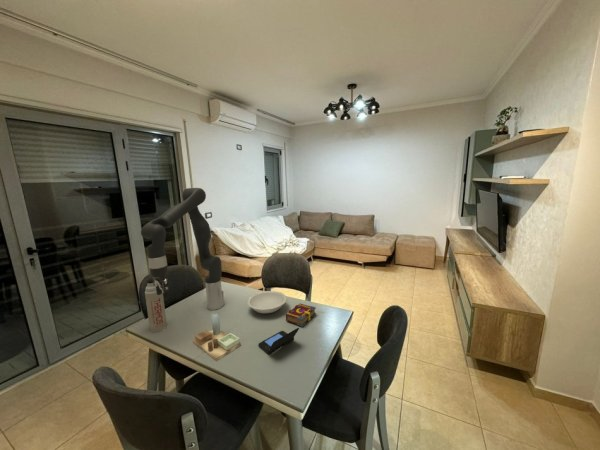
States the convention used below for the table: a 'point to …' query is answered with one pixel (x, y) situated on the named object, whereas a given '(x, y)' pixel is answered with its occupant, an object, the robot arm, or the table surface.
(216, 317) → the dowel
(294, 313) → the decorative book
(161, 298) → the thermos bottle
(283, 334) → the game console
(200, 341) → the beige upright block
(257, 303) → the soup bowl
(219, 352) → the board
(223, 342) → the tray
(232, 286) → the table surface
